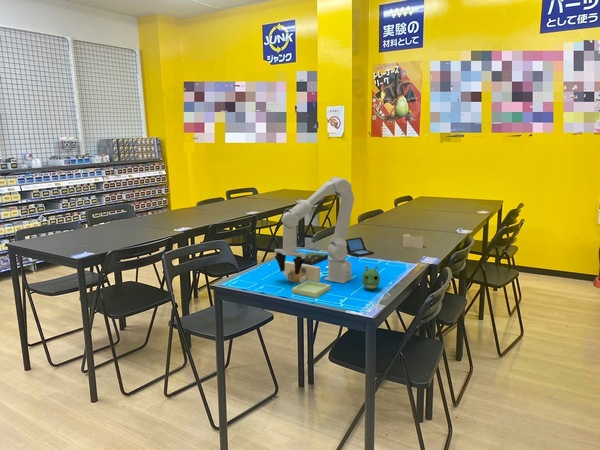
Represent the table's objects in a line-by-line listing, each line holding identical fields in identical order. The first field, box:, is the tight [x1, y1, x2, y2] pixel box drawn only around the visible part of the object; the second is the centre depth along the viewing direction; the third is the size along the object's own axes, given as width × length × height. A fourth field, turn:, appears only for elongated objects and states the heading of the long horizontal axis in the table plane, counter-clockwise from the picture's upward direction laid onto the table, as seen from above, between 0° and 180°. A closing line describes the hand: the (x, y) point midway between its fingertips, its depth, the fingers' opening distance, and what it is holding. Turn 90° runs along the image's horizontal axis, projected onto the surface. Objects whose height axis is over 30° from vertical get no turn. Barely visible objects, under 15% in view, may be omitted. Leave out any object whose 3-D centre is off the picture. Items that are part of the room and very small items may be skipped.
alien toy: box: [361, 265, 381, 290], centre depth 181 cm, size 7×8×10 cm
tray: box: [291, 280, 331, 299], centre depth 180 cm, size 11×12×2 cm
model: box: [402, 233, 424, 249], centre depth 251 cm, size 3×11×8 cm, turn 73°
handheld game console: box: [346, 236, 375, 258], centre depth 237 cm, size 12×11×7 cm
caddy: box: [287, 268, 301, 283], centre depth 192 cm, size 5×7×5 cm, turn 147°
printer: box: [282, 260, 321, 284], centre depth 195 cm, size 18×7×6 cm, turn 57°
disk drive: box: [302, 251, 329, 266], centre depth 225 cm, size 10×3×15 cm
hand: (289, 272), depth 189 cm, fingers open, 7 cm apart
